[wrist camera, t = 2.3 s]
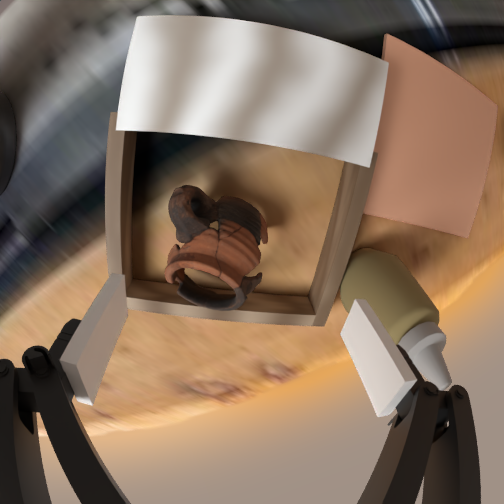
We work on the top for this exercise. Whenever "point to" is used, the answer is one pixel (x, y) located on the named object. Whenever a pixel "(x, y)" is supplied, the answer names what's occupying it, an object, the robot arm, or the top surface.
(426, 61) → the mat
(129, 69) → the cold frame
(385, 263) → the squeeze bottle
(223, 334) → the top surface
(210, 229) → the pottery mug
